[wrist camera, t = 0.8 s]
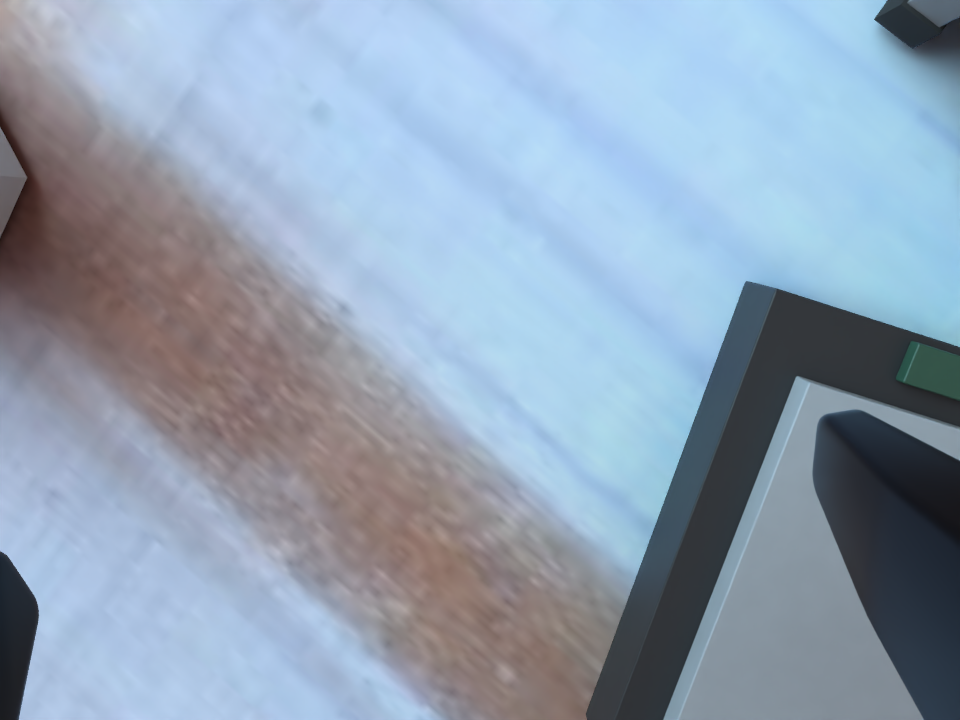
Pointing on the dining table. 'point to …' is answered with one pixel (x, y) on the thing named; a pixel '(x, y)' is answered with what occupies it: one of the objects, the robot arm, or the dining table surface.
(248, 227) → the dining table surface
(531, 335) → the dining table surface
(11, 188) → the grey faceted vase
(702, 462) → the kitchen scale
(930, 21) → the figurine
